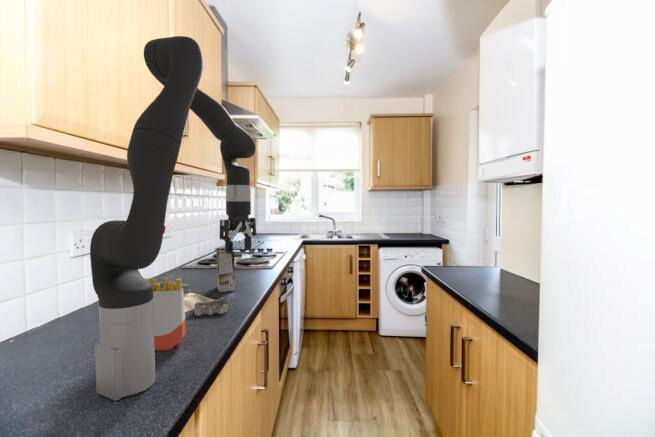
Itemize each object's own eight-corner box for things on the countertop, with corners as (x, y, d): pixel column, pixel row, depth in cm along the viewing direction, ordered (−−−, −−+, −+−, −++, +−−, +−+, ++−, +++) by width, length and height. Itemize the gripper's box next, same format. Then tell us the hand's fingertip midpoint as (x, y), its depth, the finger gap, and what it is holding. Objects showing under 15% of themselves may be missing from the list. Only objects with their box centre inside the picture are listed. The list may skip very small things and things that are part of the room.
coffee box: (235, 290, 135) (234, 252, 135) (219, 292, 133) (218, 253, 132) (231, 285, 144) (231, 249, 143) (216, 286, 141) (216, 249, 140)
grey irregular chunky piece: (229, 307, 115) (229, 296, 115) (226, 315, 107) (226, 303, 107) (197, 309, 113) (197, 297, 113) (192, 316, 106) (191, 304, 106)
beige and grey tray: (171, 321, 103) (171, 305, 103) (115, 308, 116) (115, 293, 115) (218, 303, 122) (218, 289, 121) (165, 293, 134) (165, 281, 134)
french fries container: (141, 344, 85) (139, 275, 84) (186, 340, 87) (184, 273, 86) (134, 352, 80) (132, 279, 79) (182, 348, 83) (181, 277, 82)
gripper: (232, 200, 94) (232, 255, 95) (262, 200, 107) (262, 249, 108) (212, 200, 98) (213, 254, 99) (244, 200, 110) (244, 247, 111)
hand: (239, 251), depth 103 cm, fingers open, 8 cm apart
